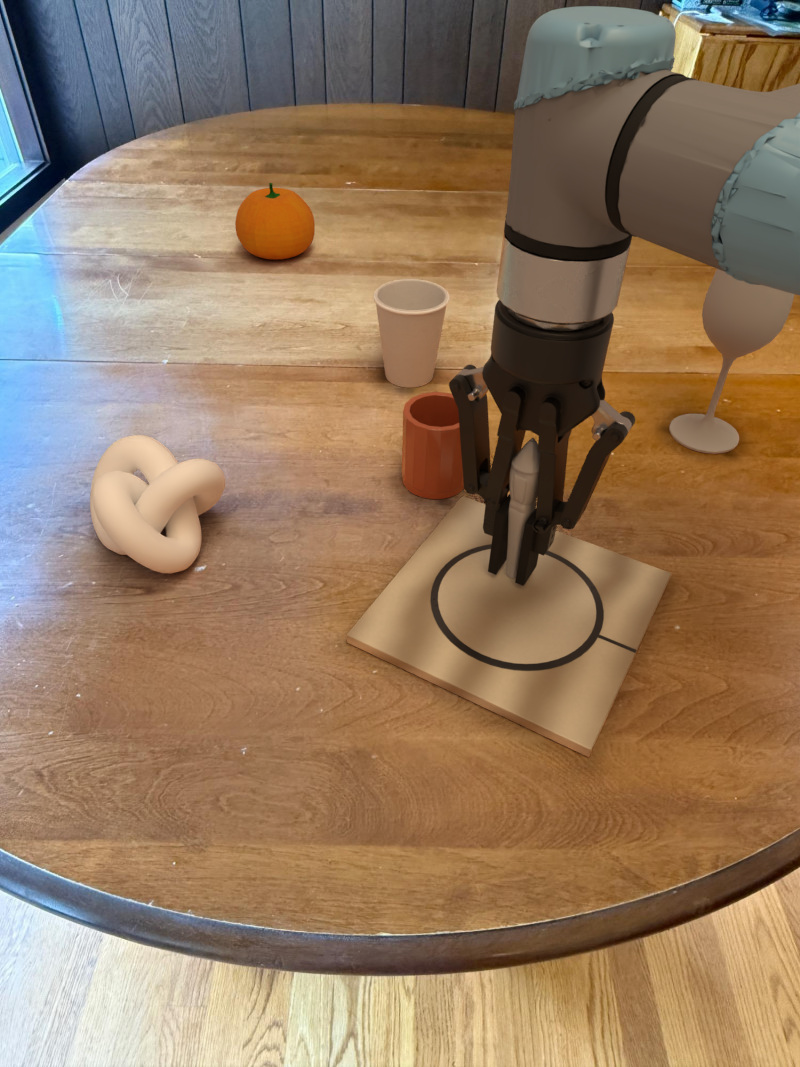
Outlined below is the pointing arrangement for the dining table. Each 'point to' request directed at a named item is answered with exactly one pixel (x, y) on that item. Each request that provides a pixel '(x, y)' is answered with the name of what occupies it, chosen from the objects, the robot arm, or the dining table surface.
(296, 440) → the dining table surface
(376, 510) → the dining table surface
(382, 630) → the drawing board
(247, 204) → the fruit
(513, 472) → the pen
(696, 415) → the wineglass
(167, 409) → the dining table surface
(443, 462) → the pen pot
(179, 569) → the beige decorative knot
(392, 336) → the dixie cup
